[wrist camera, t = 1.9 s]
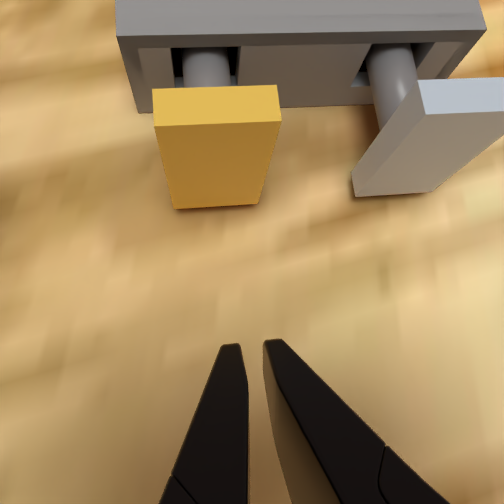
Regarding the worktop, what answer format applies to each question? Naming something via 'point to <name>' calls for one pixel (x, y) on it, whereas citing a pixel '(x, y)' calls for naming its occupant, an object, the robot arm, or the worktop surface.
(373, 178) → the light gray button
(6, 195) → the worktop surface
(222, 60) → the mustard button
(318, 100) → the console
